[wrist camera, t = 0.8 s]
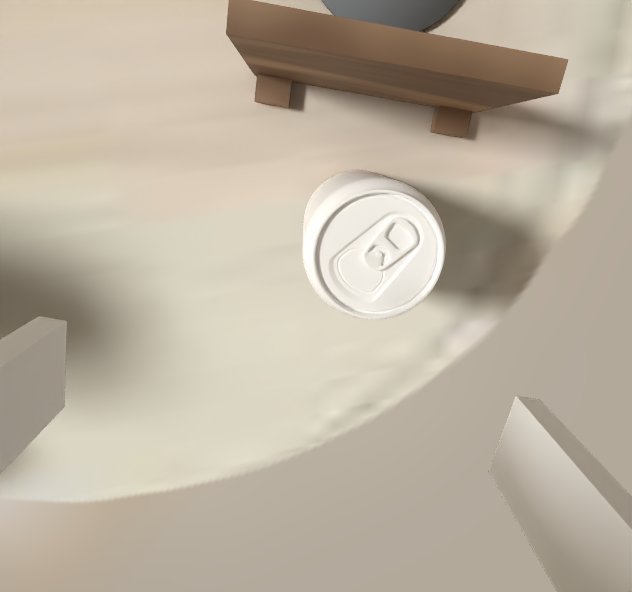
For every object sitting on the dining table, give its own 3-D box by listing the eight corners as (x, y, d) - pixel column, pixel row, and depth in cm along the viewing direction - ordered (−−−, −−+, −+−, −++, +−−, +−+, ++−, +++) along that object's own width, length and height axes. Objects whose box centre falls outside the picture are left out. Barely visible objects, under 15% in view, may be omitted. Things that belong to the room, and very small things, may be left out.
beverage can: (282, 223, 35) (271, 258, 24) (356, 146, 34) (382, 144, 22) (353, 292, 37) (374, 355, 26) (427, 222, 36) (484, 256, 24)
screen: (260, 23, 31) (233, -50, 20) (483, 64, 32) (580, 17, 21) (251, 101, 33) (222, 74, 21) (465, 138, 34) (547, 131, 22)
